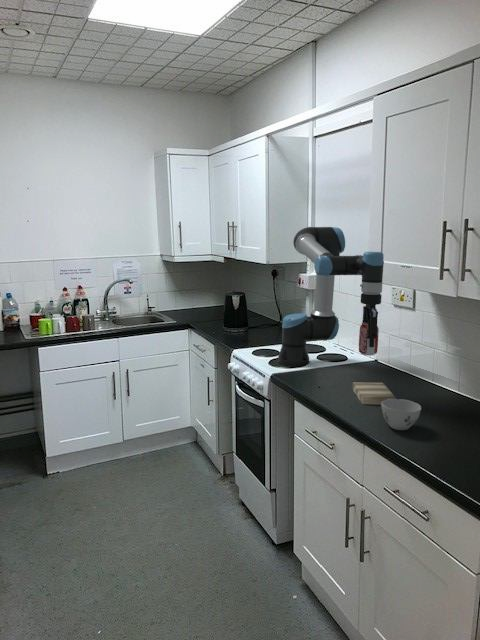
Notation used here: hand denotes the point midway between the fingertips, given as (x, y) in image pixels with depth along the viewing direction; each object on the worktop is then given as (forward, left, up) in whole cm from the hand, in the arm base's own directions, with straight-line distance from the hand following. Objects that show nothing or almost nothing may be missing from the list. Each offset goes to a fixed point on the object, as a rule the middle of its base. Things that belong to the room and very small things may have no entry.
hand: (368, 352), depth 192 cm
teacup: (+29, +4, -18) cm, 34 cm away
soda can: (0, 0, -1) cm, 1 cm away
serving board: (0, +3, -18) cm, 18 cm away
